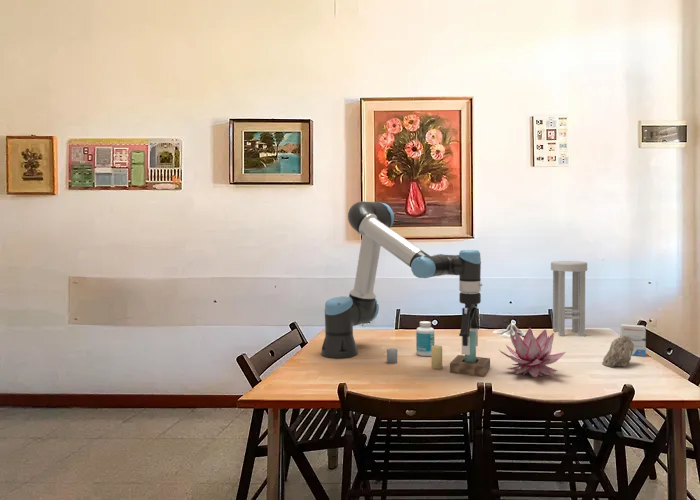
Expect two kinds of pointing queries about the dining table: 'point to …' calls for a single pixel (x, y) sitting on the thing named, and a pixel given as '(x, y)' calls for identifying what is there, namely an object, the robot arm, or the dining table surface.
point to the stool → (577, 296)
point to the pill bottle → (424, 338)
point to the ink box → (635, 337)
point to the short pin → (391, 356)
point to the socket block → (470, 366)
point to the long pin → (472, 348)
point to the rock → (619, 352)
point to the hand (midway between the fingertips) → (470, 349)
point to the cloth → (507, 331)
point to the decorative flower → (533, 353)
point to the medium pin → (436, 356)
